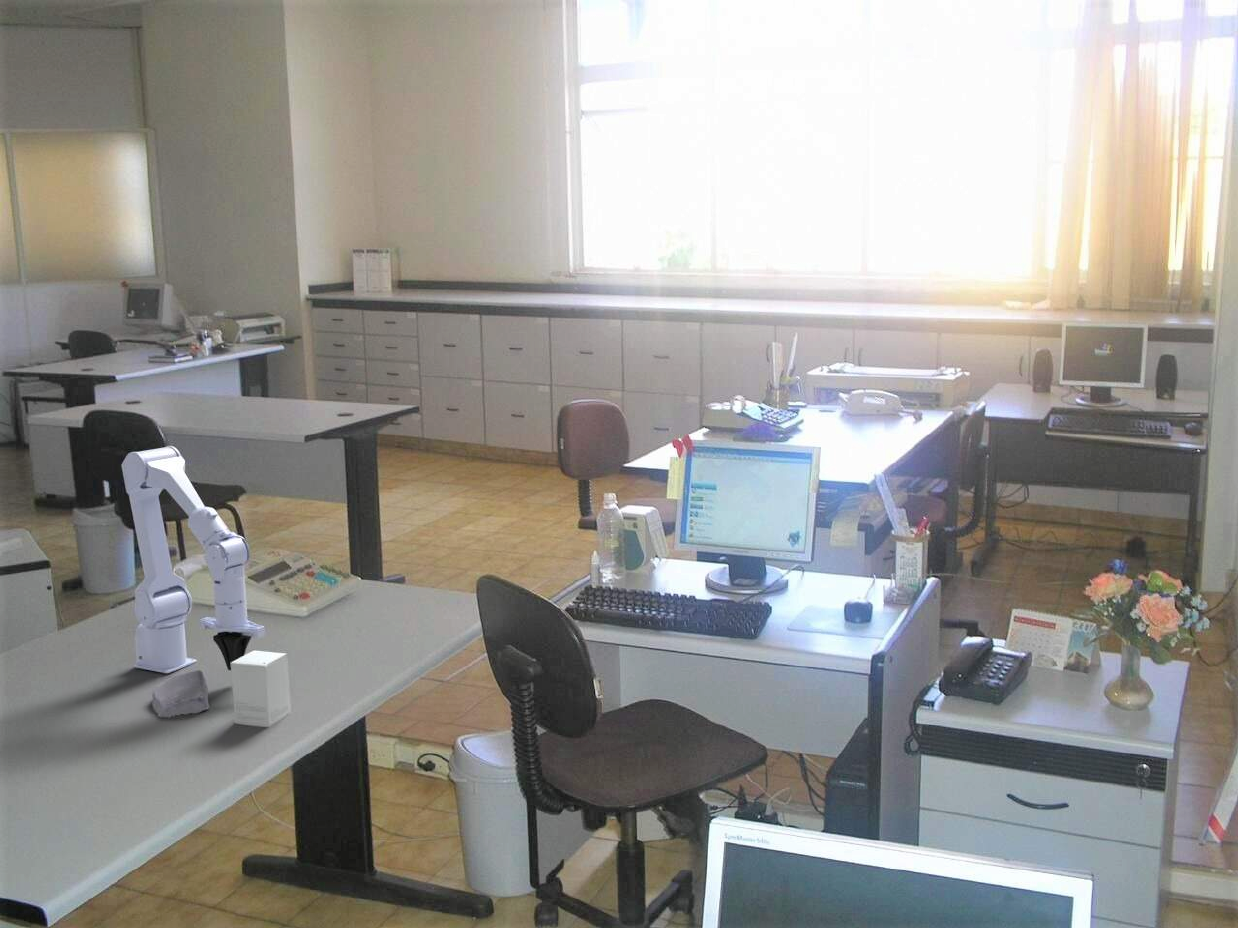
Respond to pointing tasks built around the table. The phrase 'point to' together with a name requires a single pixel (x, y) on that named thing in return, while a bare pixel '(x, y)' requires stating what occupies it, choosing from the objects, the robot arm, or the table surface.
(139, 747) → the table surface
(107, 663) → the table surface
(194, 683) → the stone block
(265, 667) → the supplement box
